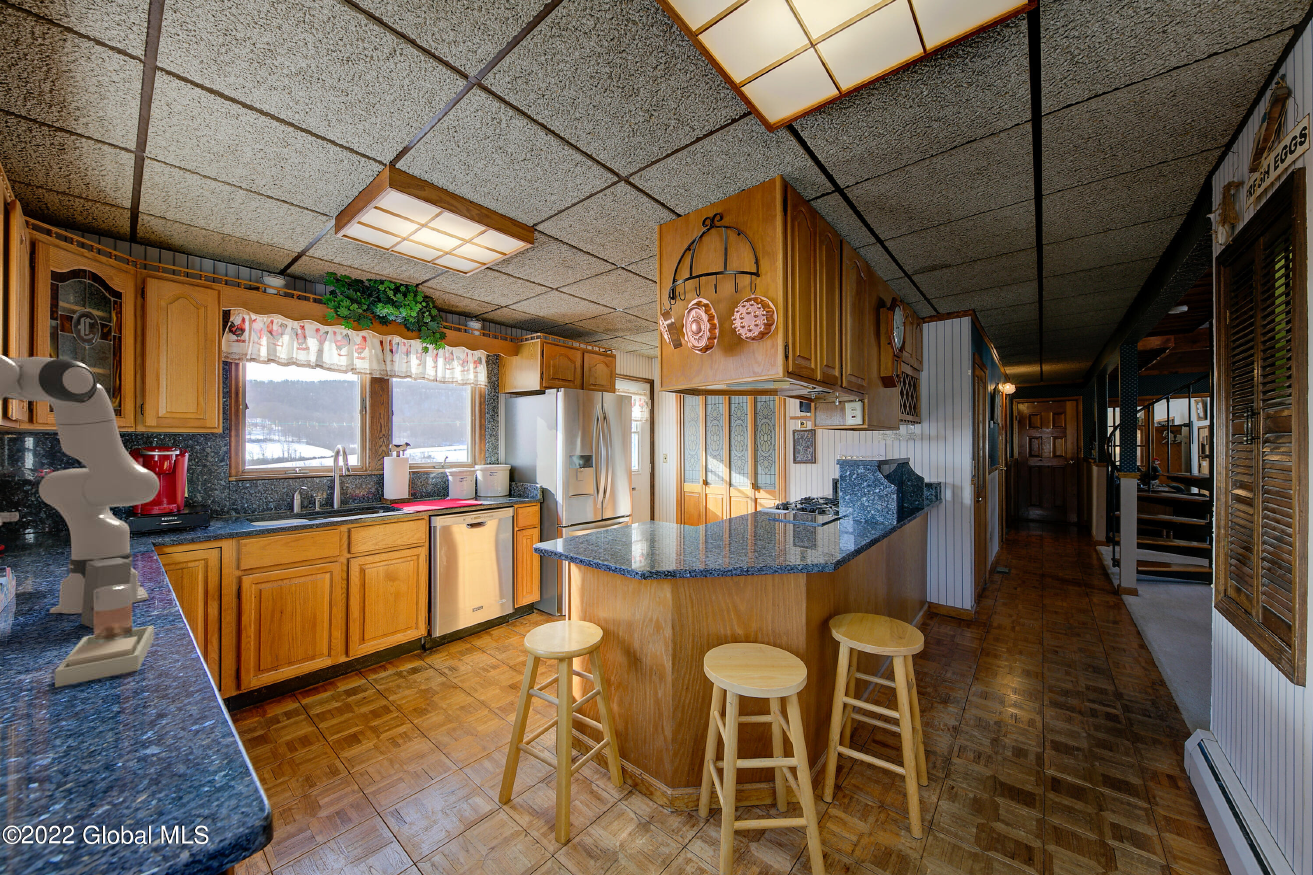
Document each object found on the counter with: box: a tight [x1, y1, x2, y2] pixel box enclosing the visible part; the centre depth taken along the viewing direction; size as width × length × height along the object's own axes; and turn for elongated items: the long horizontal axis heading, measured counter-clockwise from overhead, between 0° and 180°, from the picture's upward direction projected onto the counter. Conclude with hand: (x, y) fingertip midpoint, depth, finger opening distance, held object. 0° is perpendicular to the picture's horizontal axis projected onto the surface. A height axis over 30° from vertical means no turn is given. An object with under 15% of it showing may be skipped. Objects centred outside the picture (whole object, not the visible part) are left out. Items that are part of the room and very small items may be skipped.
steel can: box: [93, 584, 133, 644], centre depth 108 cm, size 6×6×14 cm
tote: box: [54, 624, 155, 688], centre depth 104 cm, size 21×11×4 cm, turn 39°
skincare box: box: [80, 558, 132, 629], centre depth 129 cm, size 8×7×16 cm
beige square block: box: [68, 636, 138, 667], centre depth 101 cm, size 8×8×4 cm
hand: (9, 519), depth 107 cm, fingers open, 8 cm apart
